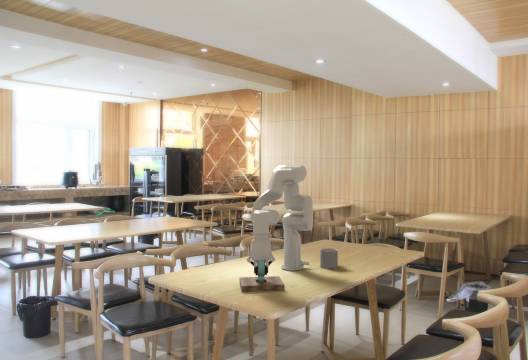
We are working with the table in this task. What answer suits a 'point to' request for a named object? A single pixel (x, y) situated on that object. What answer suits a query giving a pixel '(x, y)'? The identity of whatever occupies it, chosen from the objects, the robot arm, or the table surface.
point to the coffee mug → (329, 258)
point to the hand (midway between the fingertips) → (261, 274)
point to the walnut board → (261, 284)
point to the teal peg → (261, 270)
